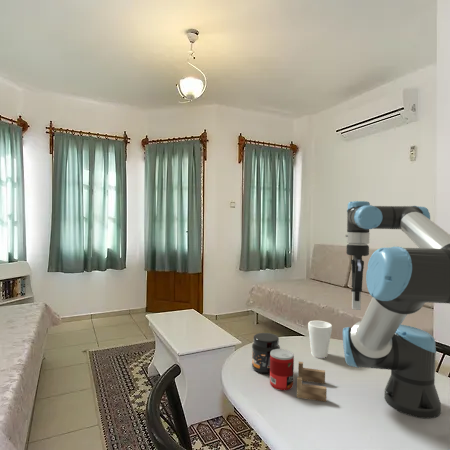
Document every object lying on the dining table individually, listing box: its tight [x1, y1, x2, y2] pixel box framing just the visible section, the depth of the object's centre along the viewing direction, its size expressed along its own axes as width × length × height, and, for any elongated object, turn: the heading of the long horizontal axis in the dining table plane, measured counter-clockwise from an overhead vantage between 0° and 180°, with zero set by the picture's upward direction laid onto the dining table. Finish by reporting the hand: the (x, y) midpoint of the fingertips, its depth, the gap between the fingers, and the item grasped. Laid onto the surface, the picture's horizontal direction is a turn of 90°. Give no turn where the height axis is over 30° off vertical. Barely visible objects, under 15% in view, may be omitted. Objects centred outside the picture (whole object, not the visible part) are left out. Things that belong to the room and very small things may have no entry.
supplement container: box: [251, 332, 281, 375], centre depth 124 cm, size 10×10×12 cm
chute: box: [296, 361, 327, 403], centre depth 109 cm, size 9×13×6 cm
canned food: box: [269, 348, 295, 391], centre depth 111 cm, size 8×8×11 cm
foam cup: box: [307, 320, 333, 359], centre depth 136 cm, size 10×9×13 cm
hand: (356, 309), depth 118 cm, fingers closed
